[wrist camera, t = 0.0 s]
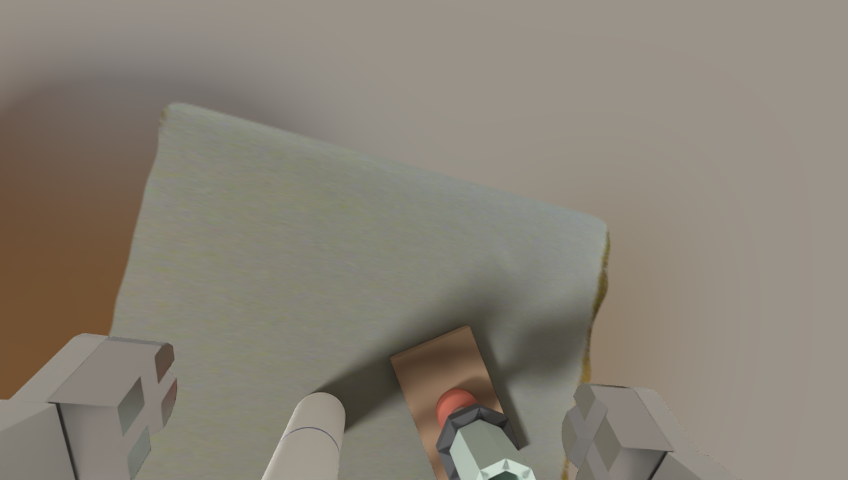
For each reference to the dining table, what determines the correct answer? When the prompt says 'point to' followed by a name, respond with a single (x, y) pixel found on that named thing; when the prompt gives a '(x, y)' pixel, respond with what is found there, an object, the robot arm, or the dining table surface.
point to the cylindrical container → (310, 441)
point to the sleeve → (487, 454)
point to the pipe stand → (443, 385)
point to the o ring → (463, 419)
